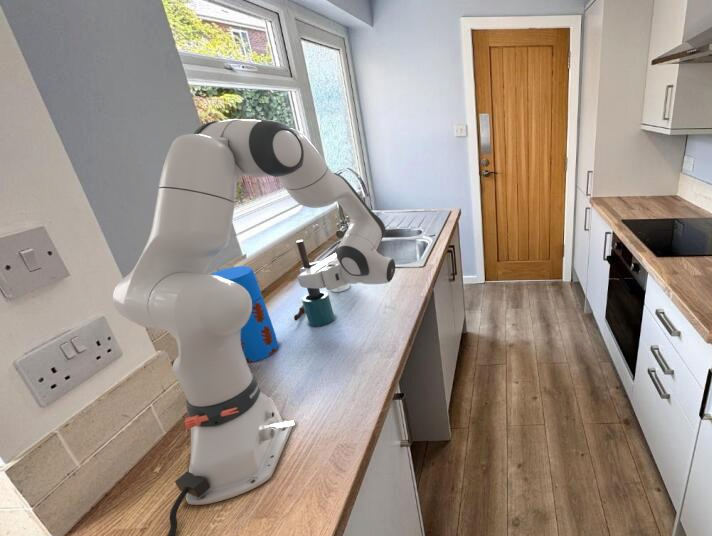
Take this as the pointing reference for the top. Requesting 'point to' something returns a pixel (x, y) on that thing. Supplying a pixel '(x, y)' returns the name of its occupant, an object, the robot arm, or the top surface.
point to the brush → (312, 292)
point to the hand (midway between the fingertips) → (304, 268)
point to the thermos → (253, 316)
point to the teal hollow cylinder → (318, 310)
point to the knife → (301, 311)
